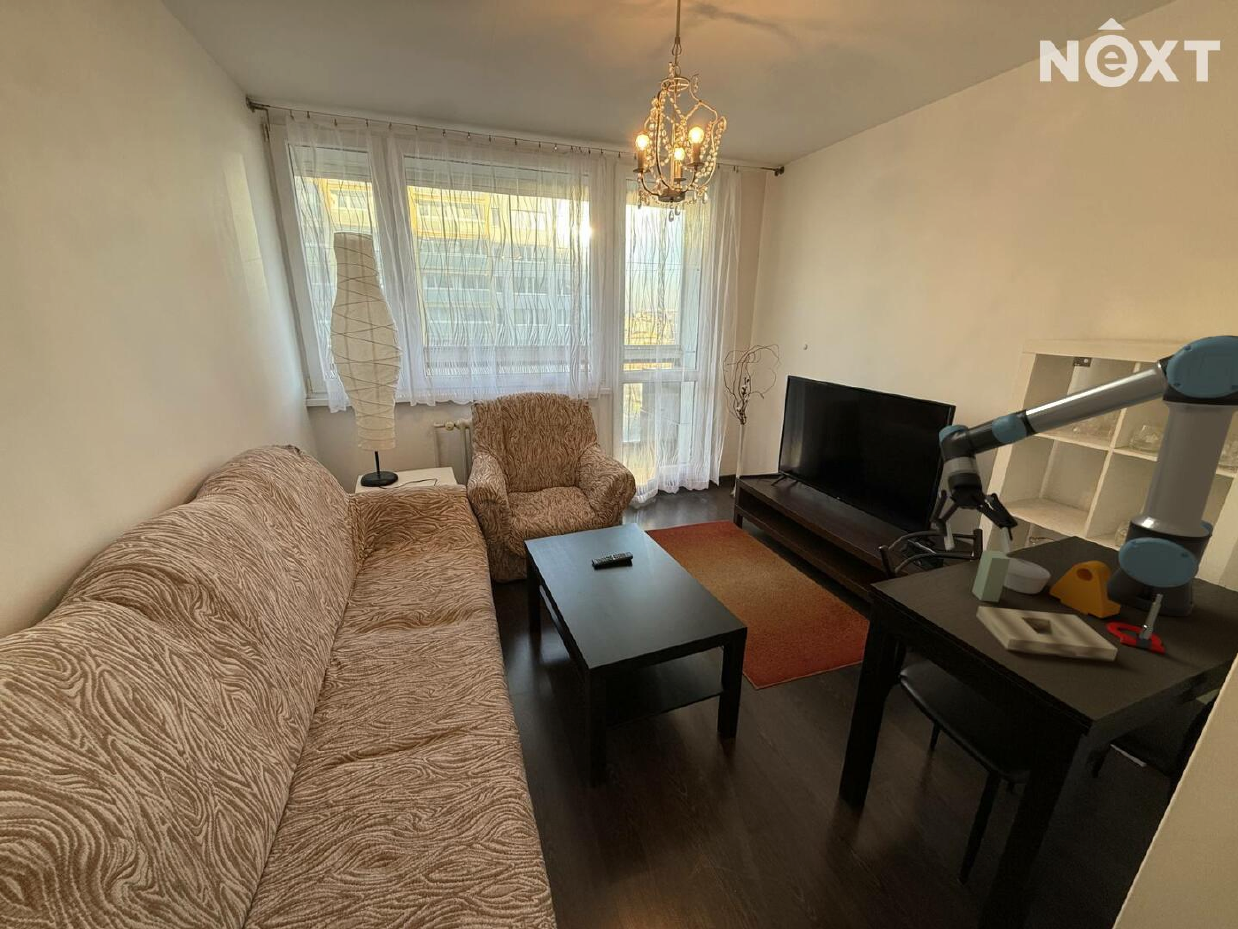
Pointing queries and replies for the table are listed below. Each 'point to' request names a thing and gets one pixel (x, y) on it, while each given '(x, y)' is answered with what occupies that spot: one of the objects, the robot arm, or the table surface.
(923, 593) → the table surface
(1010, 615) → the block with square hole
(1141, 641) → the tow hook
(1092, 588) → the bracket
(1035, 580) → the ramekin
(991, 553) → the peg
